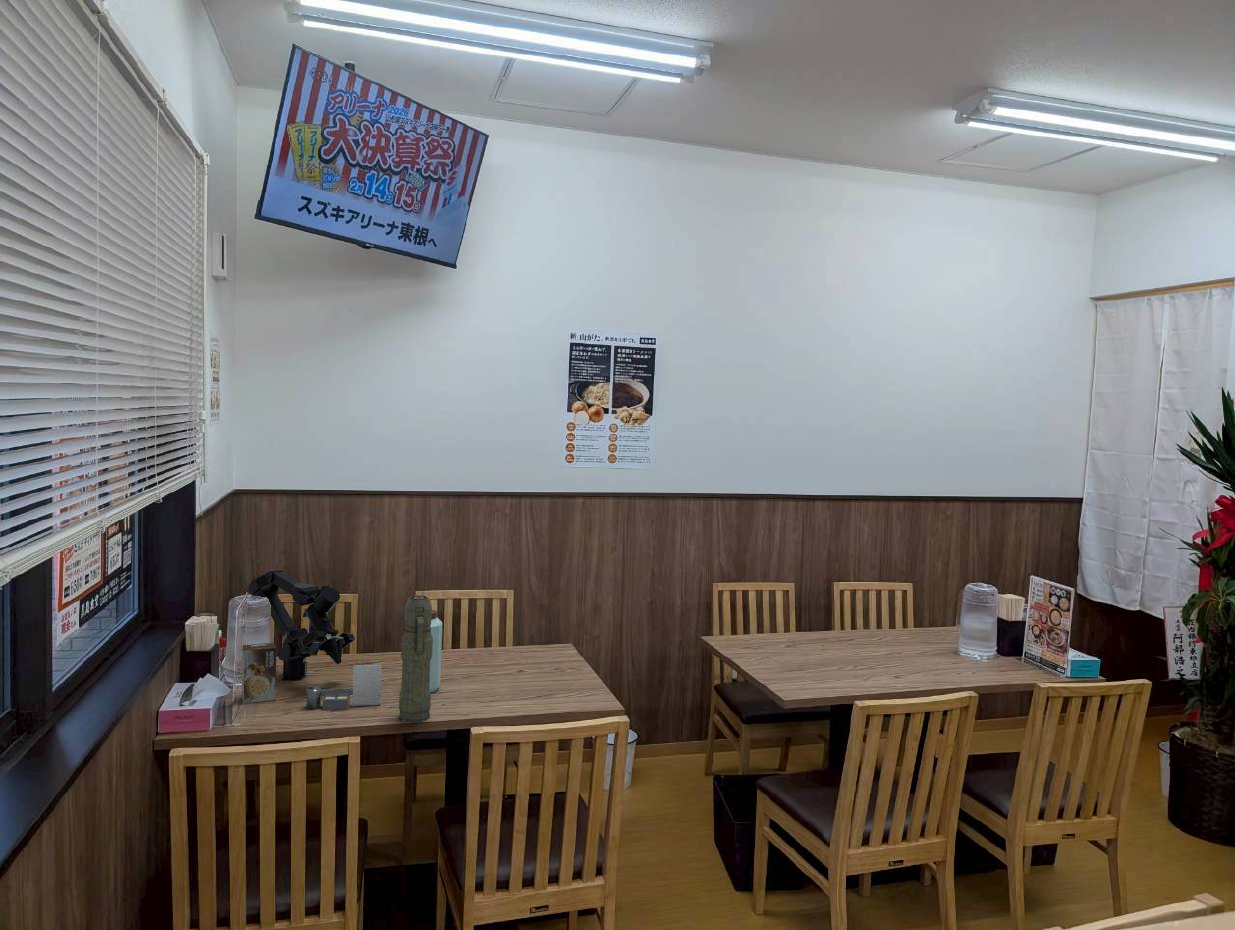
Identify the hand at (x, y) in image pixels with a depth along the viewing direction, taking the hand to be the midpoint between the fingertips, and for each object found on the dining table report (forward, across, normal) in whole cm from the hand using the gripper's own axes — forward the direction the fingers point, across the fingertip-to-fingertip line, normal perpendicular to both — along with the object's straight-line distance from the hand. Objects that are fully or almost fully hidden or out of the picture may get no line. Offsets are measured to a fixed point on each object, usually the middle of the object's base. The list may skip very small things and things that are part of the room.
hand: (339, 663), depth 256 cm
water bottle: (+17, -19, +11) cm, 28 cm away
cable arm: (+14, +4, -2) cm, 14 cm away
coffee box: (-2, +11, -22) cm, 25 cm away
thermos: (+29, +1, +16) cm, 33 cm away
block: (+13, +6, -3) cm, 15 cm away
